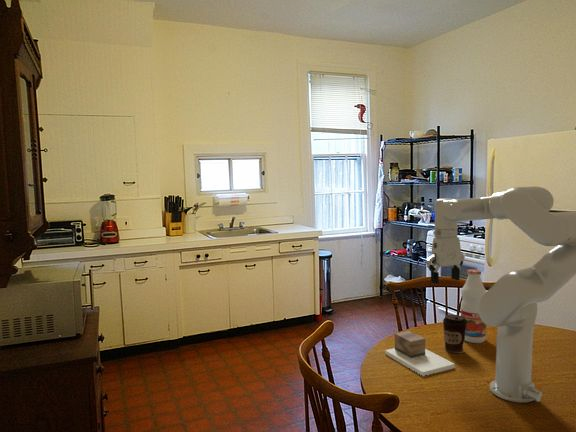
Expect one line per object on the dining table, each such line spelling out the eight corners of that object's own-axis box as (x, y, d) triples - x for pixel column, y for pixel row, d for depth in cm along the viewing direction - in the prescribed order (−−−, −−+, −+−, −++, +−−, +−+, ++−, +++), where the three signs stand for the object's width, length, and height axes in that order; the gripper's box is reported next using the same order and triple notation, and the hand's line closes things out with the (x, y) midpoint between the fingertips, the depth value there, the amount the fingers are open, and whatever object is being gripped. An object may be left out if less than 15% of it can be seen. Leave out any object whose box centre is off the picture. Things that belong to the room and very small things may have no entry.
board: (454, 368, 147) (454, 363, 147) (422, 376, 141) (422, 372, 141) (414, 347, 165) (414, 343, 165) (385, 354, 159) (385, 350, 159)
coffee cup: (462, 357, 156) (463, 322, 154) (439, 351, 161) (439, 318, 159) (468, 349, 162) (469, 315, 161) (446, 344, 167) (447, 311, 166)
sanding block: (425, 354, 155) (425, 338, 154) (410, 358, 152) (410, 341, 151) (408, 345, 163) (408, 330, 162) (394, 349, 160) (394, 333, 160)
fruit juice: (484, 336, 175) (486, 268, 172) (486, 344, 166) (488, 273, 163) (459, 333, 178) (461, 267, 176) (460, 342, 169) (461, 272, 167)
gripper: (434, 236, 144) (434, 286, 146) (472, 232, 151) (471, 280, 153) (419, 234, 151) (418, 281, 153) (456, 230, 158) (455, 276, 160)
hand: (445, 281), depth 153 cm, fingers open, 9 cm apart
